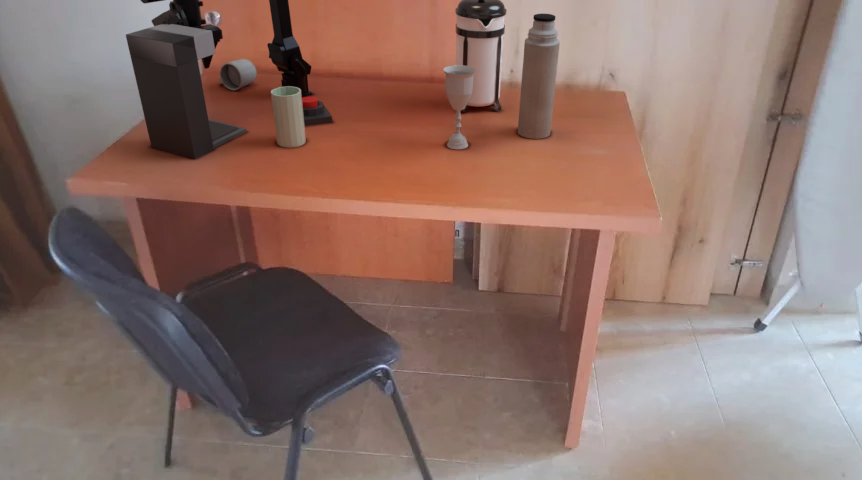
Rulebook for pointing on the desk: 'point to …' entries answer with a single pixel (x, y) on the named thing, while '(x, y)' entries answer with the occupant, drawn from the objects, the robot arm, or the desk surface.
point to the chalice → (458, 98)
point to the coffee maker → (176, 89)
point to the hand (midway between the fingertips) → (196, 64)
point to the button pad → (317, 115)
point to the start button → (309, 102)
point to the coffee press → (481, 47)
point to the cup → (288, 116)
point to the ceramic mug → (237, 74)
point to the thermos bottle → (538, 78)
